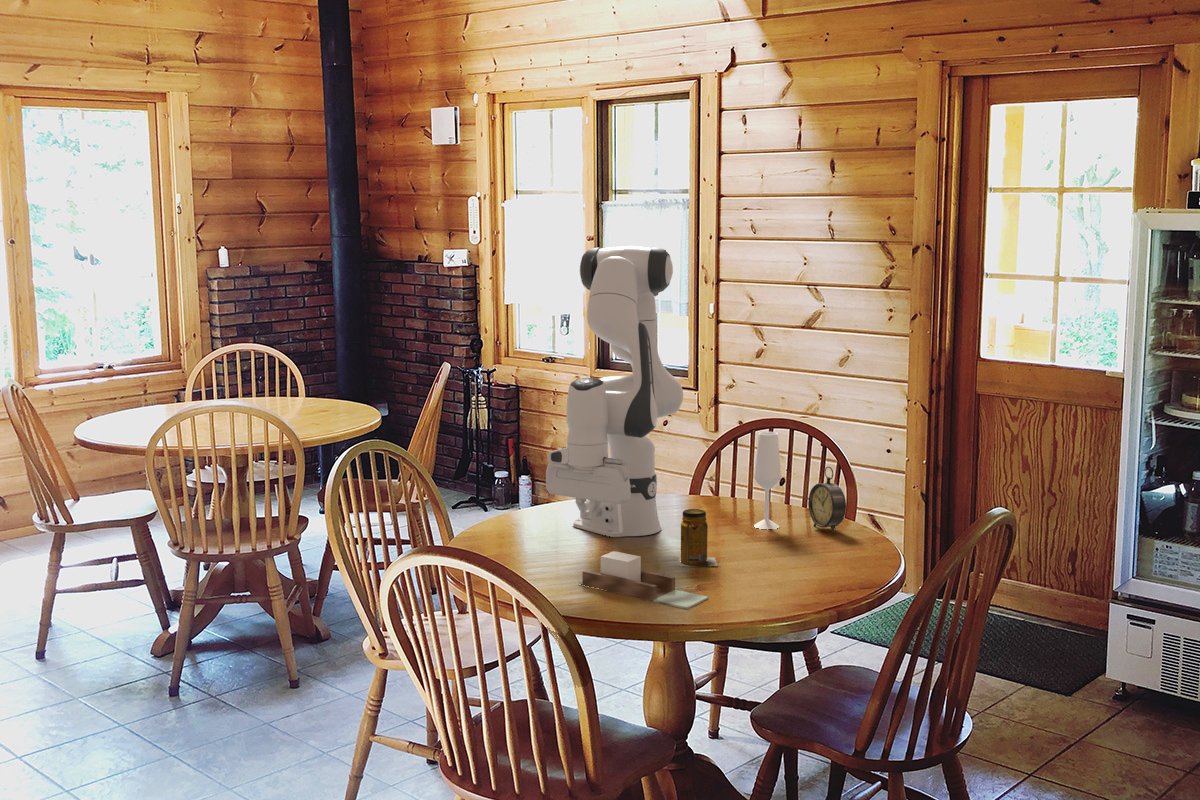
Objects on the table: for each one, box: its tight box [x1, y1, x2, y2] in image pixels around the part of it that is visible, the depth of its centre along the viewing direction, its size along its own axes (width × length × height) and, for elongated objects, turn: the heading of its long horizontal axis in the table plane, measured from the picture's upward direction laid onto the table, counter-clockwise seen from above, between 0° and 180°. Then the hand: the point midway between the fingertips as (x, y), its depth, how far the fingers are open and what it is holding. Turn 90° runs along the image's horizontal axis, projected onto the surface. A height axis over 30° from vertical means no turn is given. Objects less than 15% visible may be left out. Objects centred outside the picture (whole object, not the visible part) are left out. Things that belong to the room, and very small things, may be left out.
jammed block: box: [600, 550, 642, 582], centre depth 249 cm, size 7×5×6 cm
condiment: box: [677, 508, 719, 568], centre depth 266 cm, size 7×8×12 cm
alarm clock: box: [807, 466, 847, 535], centre depth 293 cm, size 11×5×16 cm, turn 23°
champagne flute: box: [753, 431, 782, 531], centre depth 296 cm, size 7×7×24 cm
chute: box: [578, 569, 709, 610], centre depth 246 cm, size 27×8×3 cm, turn 54°
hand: (588, 519), depth 252 cm, fingers closed
